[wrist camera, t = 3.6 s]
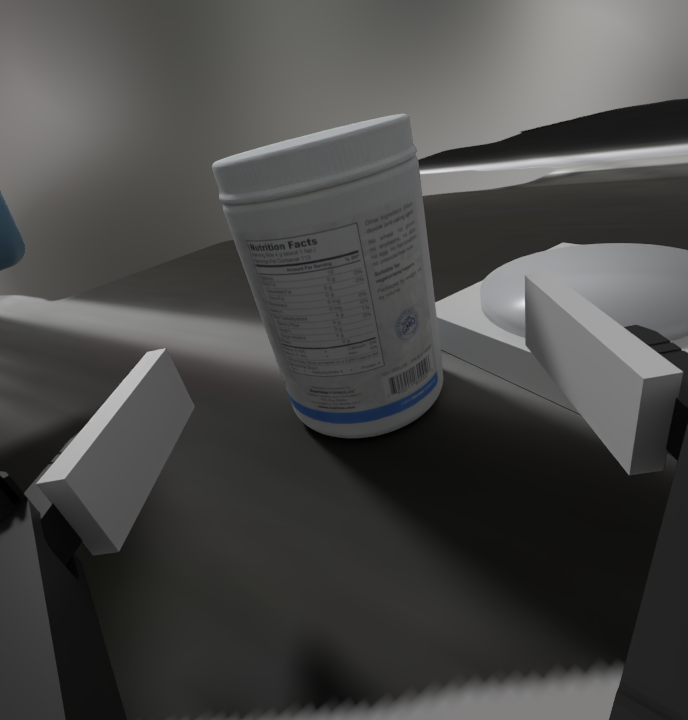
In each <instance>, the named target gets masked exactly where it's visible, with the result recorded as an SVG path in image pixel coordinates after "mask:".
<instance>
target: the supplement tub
mask: <svg viewBox="0 0 688 720" xmlns="http://www.w3.org/2000/svg"><path fill="white" fill-rule="evenodd" d="M416 152H417V149H416V147H415V145H414V144H413V139H412V132H411V126H410V119H409V116H408V115H406V114H398V115H392V116H387V117H381V118H377V119H372V120H367V121H363V122H358V123H354V124H350V125H346V126H342V127H338V128H333V129H329V130H325V131H321V132H317V133H313V134H309V135H305V136H302V137H298V138H294V139H290V140H286V141H282V142H279V143H275V144H271V145H268V146H264V147H260V148H257V149H253V150H249V151H246V152H243V153H239V154H236V155H233V156H230V157H227V158H224V159H221V160H219V161H216V162H214V163H213V165H212V169H213V172H214V176H215V179H216V182H217V184H218V187H219V190H220V195H219V198H220V201H221V202H222V203H223V210H224V213H225V216H226V219H227V222H228V224H229V227H230V230H231V233H232V236H233V239H234V242H235V245H236V247H237V250H238V253H239V256H240V259H241V262H242V264H243V267H244V270H245V273H246V276H247V279H248V281H249V284H250V287H251V290H252V293H253V295H254V298H255V301H256V304H257V307H258V310H259V312H260V315H261V318H262V321H263V324H264V327H265V329H266V332H267V335H268V338H269V341H270V344H271V346H272V349H273V352H274V355H275V358H276V361H277V363H278V366H279V369H280V372H281V375H282V378H283V381H284V383H285V386H286V389H287V392H288V395H289V398H290V400H291V403H292V406H293V409H294V411H295V413H296V415H297V416H298V417H299V419H300V420H301V421H302V422H303V423H304V424H305V425H307V426H308V427H309V428H311V429H313V430H315V431H317V432H319V433H322V434H325V435H328V436H333V437H339V438H366V437H374V436H378V435H383V434H386V433H389V432H392V431H395V430H397V429H400V428H402V427H404V426H406V425H408V424H410V423H411V422H413V421H415V420H416V419H418V418H419V417H420V416H421V415H423V414H424V413H425V412H426V411H427V410H428V409H429V408H430V407H431V406H432V405H433V404H434V402H435V401H436V399H437V398H438V396H439V394H440V391H441V389H442V385H443V367H442V357H441V349H440V341H439V332H438V324H437V316H436V307H435V299H434V290H433V282H432V274H431V265H430V257H429V249H428V241H427V232H426V224H425V215H424V206H423V198H422V190H421V180H420V172H419V164H418V159H417V157H416V155H415V154H416Z"/></svg>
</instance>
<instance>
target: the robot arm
mask: <svg viewBox="0 0 688 720" xmlns="http://www.w3.org/2000/svg"><path fill="white" fill-rule="evenodd" d="M24 253H25V244H24V241H23V239H22V236H21V234H20V232H19V230H18V228H17V226H16V223H15V221H14V219H13V217H12V215H11V213H10V211H9V209H8V206H7V204H6V202H5V200H4V198H3V196H2V194H1V192H0V271H1V270H4V269H6V268H9V267H12V266H14V265H16V264H17V263H18V262H20V261H21V259H22V258H23V256H24ZM525 345H526V346H527V348H528V349H529V350H530V351H531V353H532V354H533V355H534V357H535V358H536V359H537V360H538V362H539V363H540V364H541V365H542V367H543V368H544V369H545V370H546V372H547V373H548V374H549V375H550V377H551V378H552V379H553V380H554V382H555V383H556V384H557V385H558V387H559V388H560V389H561V390H562V392H563V393H564V394H565V395H566V397H567V398H568V399H569V400H570V402H571V403H572V404H573V405H574V407H575V408H576V409H577V411H578V412H579V413H580V414H581V416H582V417H583V418H584V419H585V421H586V422H587V423H588V424H589V426H590V427H591V428H592V429H593V431H594V432H595V433H596V434H597V436H598V437H599V438H600V439H601V441H602V442H603V443H604V444H605V446H606V447H607V448H608V449H609V451H610V452H611V453H612V454H613V456H614V457H615V458H616V459H617V461H618V462H619V463H620V465H621V466H622V467H623V468H624V470H625V471H626V472H627V473H628V475H635V474H642V473H649V472H655V471H662V470H664V465H665V460H666V455H667V451H668V452H669V453H670V454H671V455H672V456H673V457H674V458H675V459H676V460H677V461H678V463H677V466H676V470H675V474H674V478H673V482H672V486H671V489H670V493H669V497H668V501H667V505H666V509H665V513H664V516H663V520H662V524H661V528H660V532H659V536H658V539H657V543H656V547H655V551H654V555H653V559H652V562H651V566H650V570H649V574H648V578H647V582H646V586H645V589H644V593H643V597H642V601H641V605H640V609H639V612H638V616H637V620H636V624H635V628H634V632H633V635H632V639H631V643H630V647H629V651H628V655H627V659H626V662H625V666H624V670H623V674H622V678H621V681H620V685H619V688H618V690H617V693H616V697H615V700H614V703H613V707H612V711H611V715H610V718H609V720H688V353H687V352H686V351H682V350H681V348H680V347H679V346H677V345H676V344H674V343H670V340H668V339H667V338H665V337H664V336H662V335H661V334H660V333H658V332H657V331H654V330H651V329H648V328H645V327H642V326H639V325H632V326H626V327H623V326H621V325H620V324H619V323H617V322H616V321H615V320H613V319H612V318H611V317H609V316H608V315H607V314H605V313H604V312H603V311H601V310H600V309H599V308H597V307H596V306H595V305H593V304H592V303H591V302H589V301H588V300H586V299H585V298H584V297H582V296H581V295H580V294H578V293H577V292H576V291H574V290H573V289H572V288H570V287H569V286H568V285H566V284H565V283H564V282H562V281H561V280H560V279H558V278H557V277H556V276H554V275H553V274H552V273H550V272H549V271H543V272H538V273H533V274H528V275H525ZM194 407H195V406H194V404H193V402H192V400H191V398H190V396H189V394H188V392H187V390H186V388H185V386H184V384H183V382H182V380H181V378H180V375H179V373H178V371H177V369H176V367H175V365H174V363H173V361H172V359H171V357H170V355H169V353H168V351H167V349H166V348H165V349H160V350H155V351H150V352H147V353H146V354H145V355H144V357H143V358H142V359H141V360H140V361H139V362H138V364H137V365H136V366H135V367H134V368H133V370H132V371H131V372H130V373H129V374H128V375H127V377H126V378H125V379H124V380H123V381H122V383H121V384H120V385H119V386H118V387H117V388H116V390H115V391H114V392H113V393H112V394H111V396H110V397H109V398H108V399H107V400H106V402H105V403H104V404H103V405H102V406H101V407H100V409H99V410H98V411H97V412H96V413H95V415H94V416H93V417H92V418H91V419H90V420H89V422H88V423H87V424H86V425H85V426H84V428H83V429H82V430H81V431H80V432H79V433H78V434H76V435H75V436H74V437H73V438H71V439H70V440H69V441H68V442H67V443H66V445H65V446H64V447H63V448H62V449H61V450H60V452H59V454H58V455H56V456H55V457H54V459H53V460H52V461H51V462H50V463H51V464H50V465H48V466H47V467H46V468H45V469H44V470H43V471H42V473H41V474H40V475H39V476H38V477H37V478H36V480H35V481H34V482H33V483H32V484H31V485H30V487H29V488H28V489H27V490H26V491H25V492H24V493H23V492H22V491H21V489H20V488H19V487H18V486H17V485H16V483H15V482H14V481H13V480H12V479H11V477H10V476H9V475H8V474H7V473H6V472H1V471H0V720H127V718H126V715H125V712H124V708H123V705H122V701H121V698H120V694H119V691H118V688H117V684H116V681H115V677H114V674H113V670H112V667H111V663H110V660H109V657H108V653H107V650H106V646H105V643H104V639H103V636H102V632H101V629H100V626H99V622H98V619H97V615H96V612H95V608H94V605H93V602H92V598H91V595H90V591H89V588H88V584H87V581H86V577H85V574H84V571H83V567H82V564H81V562H80V561H79V559H78V558H77V557H76V556H75V554H74V553H75V552H76V550H77V548H78V547H79V545H80V543H81V542H83V544H84V545H85V546H86V547H87V549H88V550H89V551H90V552H91V554H92V555H93V556H95V555H101V554H108V553H115V552H119V551H120V549H121V547H122V545H123V543H124V541H125V539H126V538H127V536H128V534H129V532H130V530H131V528H132V526H133V524H134V522H135V520H136V518H137V516H138V515H139V513H140V511H141V509H142V507H143V505H144V503H145V501H146V499H147V497H148V495H149V493H150V492H151V490H152V488H153V486H154V484H155V482H156V480H157V478H158V476H159V474H160V472H161V470H162V468H163V467H164V465H165V463H166V461H167V459H168V457H169V455H170V453H171V451H172V449H173V447H174V445H175V444H176V442H177V440H178V438H179V436H180V434H181V432H182V430H183V428H184V426H185V424H186V422H187V421H188V419H189V417H190V415H191V413H192V411H193V409H194Z"/></svg>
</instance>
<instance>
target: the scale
mask: <svg viewBox="0 0 688 720" xmlns="http://www.w3.org/2000/svg"><path fill="white" fill-rule="evenodd" d="M543 271H549V272H550V273H552V274H553V275H554V276H556V277H557V278H558V279H560V280H561V281H562V282H564V283H565V284H566V285H568V286H569V287H570V288H572V289H573V290H574V291H576V292H577V293H578V294H580V295H581V296H582V297H584V298H585V299H586V300H588V301H589V302H591V303H592V304H593V305H595V306H596V307H597V308H599V309H600V310H601V311H603V312H604V313H605V314H607V315H608V316H609V317H611V318H612V319H613V320H615V321H616V322H617V323H619V324H620V325H621V326H623V327H626V326H632V325H639V326H642V327H645V328H648V329H651V330H654V331H657V332H658V333H660V334H661V335H662V336H664V337H665V338H667V339H668V340H670V343H674V344H676V345H677V346H679V347H680V348H681V350H682V351H686V352H687V353H688V250H684V249H678V248H673V247H666V246H659V245H648V244H631V243H608V244H590V245H577V244H569V243H561V244H559V245H557V246H555V247H553V248H551V249H548V250H546V251H543V252H538V253H535V254H531V255H528V256H524V257H521V258H518V259H516V260H513V261H511V262H508V263H506V264H504V265H502V266H500V267H499V268H497V269H496V270H494V271H492V272H491V273H490V274H489V275H488V276H487V277H486V278H485V279H484V280H483V281H481V282H478V283H476V284H474V285H472V286H470V287H468V288H466V289H464V290H461V291H459V292H457V293H455V294H453V295H451V296H449V297H447V298H444V299H442V300H440V301H438V302H436V303H435V307H436V316H437V324H438V332H439V341H440V349H441V350H443V351H445V352H447V353H450V354H452V355H454V356H456V357H458V358H460V359H462V360H465V361H467V362H469V363H471V364H473V365H475V366H477V367H480V368H482V369H484V370H486V371H488V372H490V373H493V374H495V375H497V376H499V377H501V378H503V379H505V380H508V381H510V382H512V383H514V384H516V385H518V386H520V387H523V388H525V389H527V390H529V391H531V392H533V393H536V394H538V395H540V396H542V397H544V398H546V399H548V400H551V401H553V402H555V403H557V404H559V405H561V406H563V407H566V408H568V409H570V410H572V411H574V412H576V413H579V412H578V411H577V409H576V408H575V407H574V405H573V404H572V403H571V402H570V400H569V399H568V398H567V397H566V395H565V394H564V393H563V392H562V390H561V389H560V388H559V387H558V385H557V384H556V383H555V382H554V380H553V379H552V378H551V377H550V375H549V374H548V373H547V372H546V370H545V369H544V368H543V367H542V365H541V364H540V363H539V362H538V360H537V359H536V358H535V357H534V355H533V354H532V353H531V351H530V350H529V349H528V348H527V346H526V345H525V275H528V274H533V273H538V272H543ZM579 414H580V413H579Z"/></svg>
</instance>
